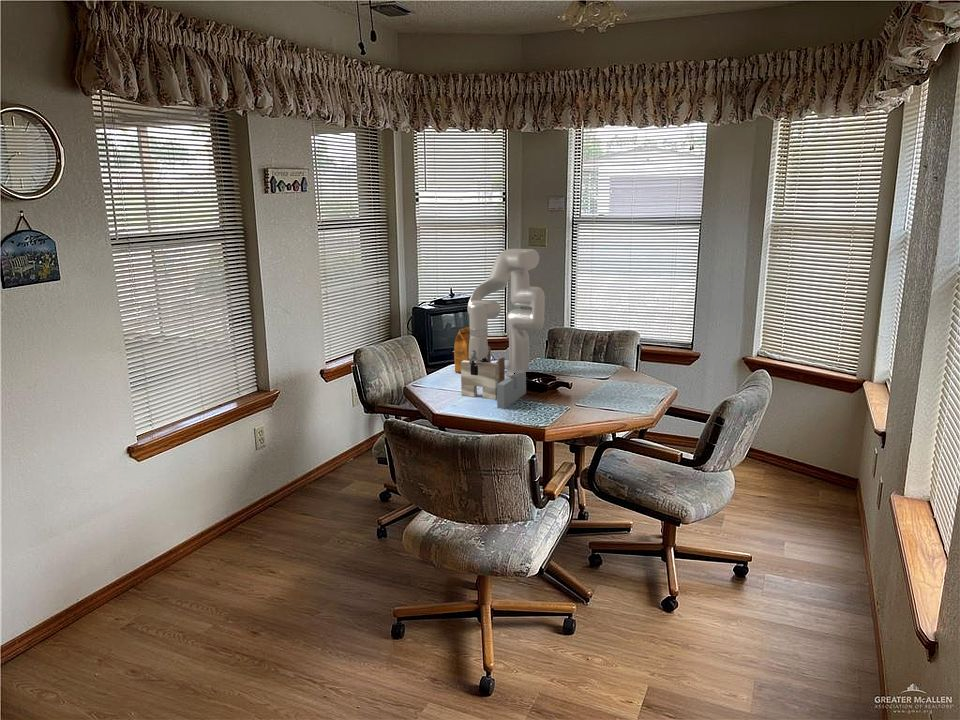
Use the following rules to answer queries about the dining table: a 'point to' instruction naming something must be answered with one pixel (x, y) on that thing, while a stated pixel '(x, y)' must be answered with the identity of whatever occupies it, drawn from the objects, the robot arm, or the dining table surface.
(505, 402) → the grey rectangular panel
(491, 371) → the upright beige panel
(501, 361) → the tan post stand
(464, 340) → the coffee package
